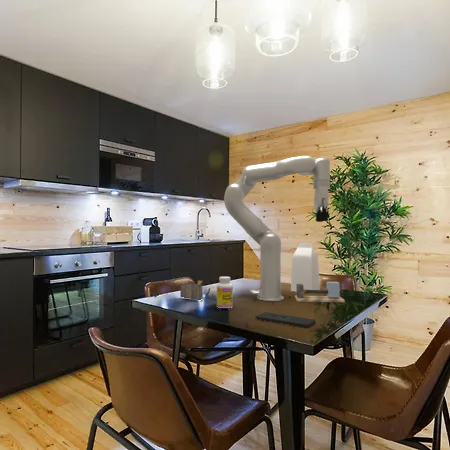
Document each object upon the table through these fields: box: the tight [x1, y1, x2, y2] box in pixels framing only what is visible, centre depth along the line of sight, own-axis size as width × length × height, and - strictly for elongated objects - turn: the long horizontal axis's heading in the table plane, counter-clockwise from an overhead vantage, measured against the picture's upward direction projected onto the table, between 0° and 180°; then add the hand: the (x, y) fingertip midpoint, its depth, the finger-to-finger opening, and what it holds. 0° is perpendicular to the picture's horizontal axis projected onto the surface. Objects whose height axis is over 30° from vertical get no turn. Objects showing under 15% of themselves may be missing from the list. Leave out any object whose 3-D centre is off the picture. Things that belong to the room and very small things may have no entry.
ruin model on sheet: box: [179, 280, 203, 300], centre depth 157 cm, size 11×3×10 cm, turn 54°
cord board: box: [294, 284, 346, 303], centre depth 157 cm, size 21×9×7 cm, turn 85°
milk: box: [290, 242, 321, 295], centre depth 182 cm, size 12×12×26 cm
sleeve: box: [325, 281, 341, 297], centre depth 157 cm, size 5×4×6 cm
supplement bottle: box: [216, 276, 234, 309], centre depth 140 cm, size 7×7×13 cm
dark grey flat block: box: [254, 311, 316, 329], centre depth 120 cm, size 8×2×20 cm
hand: (321, 221), depth 158 cm, fingers open, 9 cm apart
